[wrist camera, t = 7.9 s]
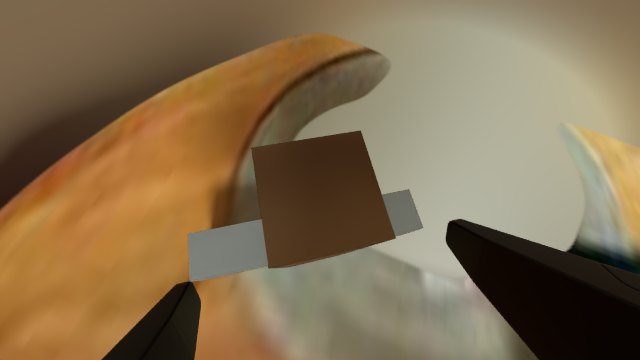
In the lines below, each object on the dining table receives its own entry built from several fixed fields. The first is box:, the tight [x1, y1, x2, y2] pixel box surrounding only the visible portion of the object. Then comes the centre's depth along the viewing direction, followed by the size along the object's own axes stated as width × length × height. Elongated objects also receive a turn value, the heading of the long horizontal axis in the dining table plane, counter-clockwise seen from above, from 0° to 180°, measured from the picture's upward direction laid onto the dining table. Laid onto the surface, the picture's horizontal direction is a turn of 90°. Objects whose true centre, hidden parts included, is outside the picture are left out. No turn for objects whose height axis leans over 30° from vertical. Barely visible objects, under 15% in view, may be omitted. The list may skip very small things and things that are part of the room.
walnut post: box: [251, 131, 396, 268], centre depth 13 cm, size 4×4×12 cm
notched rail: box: [188, 189, 423, 282], centre depth 18 cm, size 3×16×4 cm, turn 102°
